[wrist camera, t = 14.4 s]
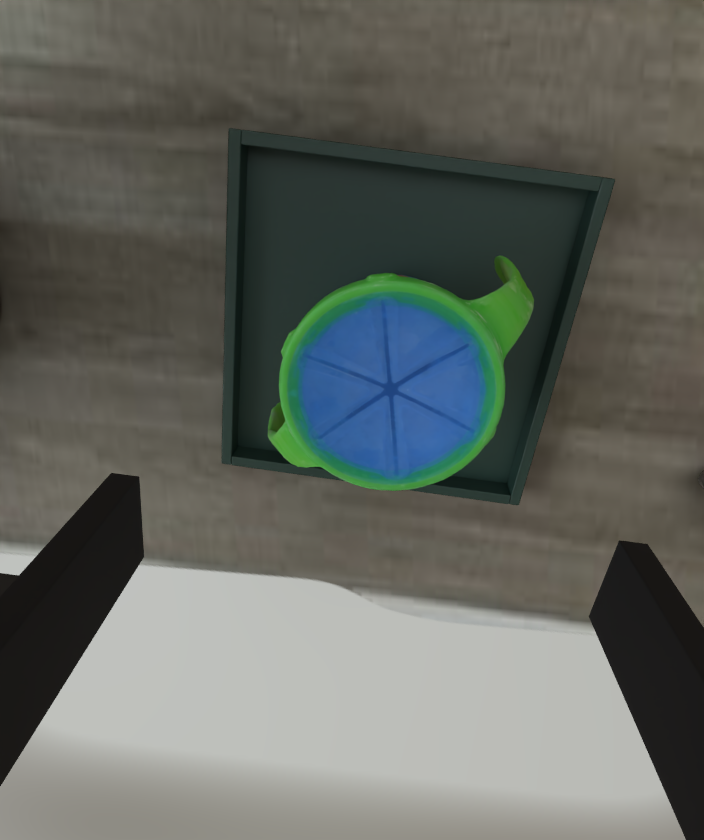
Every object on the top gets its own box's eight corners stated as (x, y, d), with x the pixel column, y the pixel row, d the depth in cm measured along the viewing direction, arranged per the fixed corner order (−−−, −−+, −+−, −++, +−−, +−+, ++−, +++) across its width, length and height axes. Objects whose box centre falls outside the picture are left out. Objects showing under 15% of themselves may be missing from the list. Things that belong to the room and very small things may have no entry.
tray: (229, 448, 40) (221, 463, 38) (239, 130, 31) (228, 127, 29) (512, 488, 39) (518, 505, 37) (601, 178, 31) (616, 178, 29)
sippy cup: (328, 451, 38) (306, 541, 29) (243, 320, 35) (188, 375, 26) (543, 349, 34) (597, 417, 25) (472, 188, 31) (504, 199, 22)
